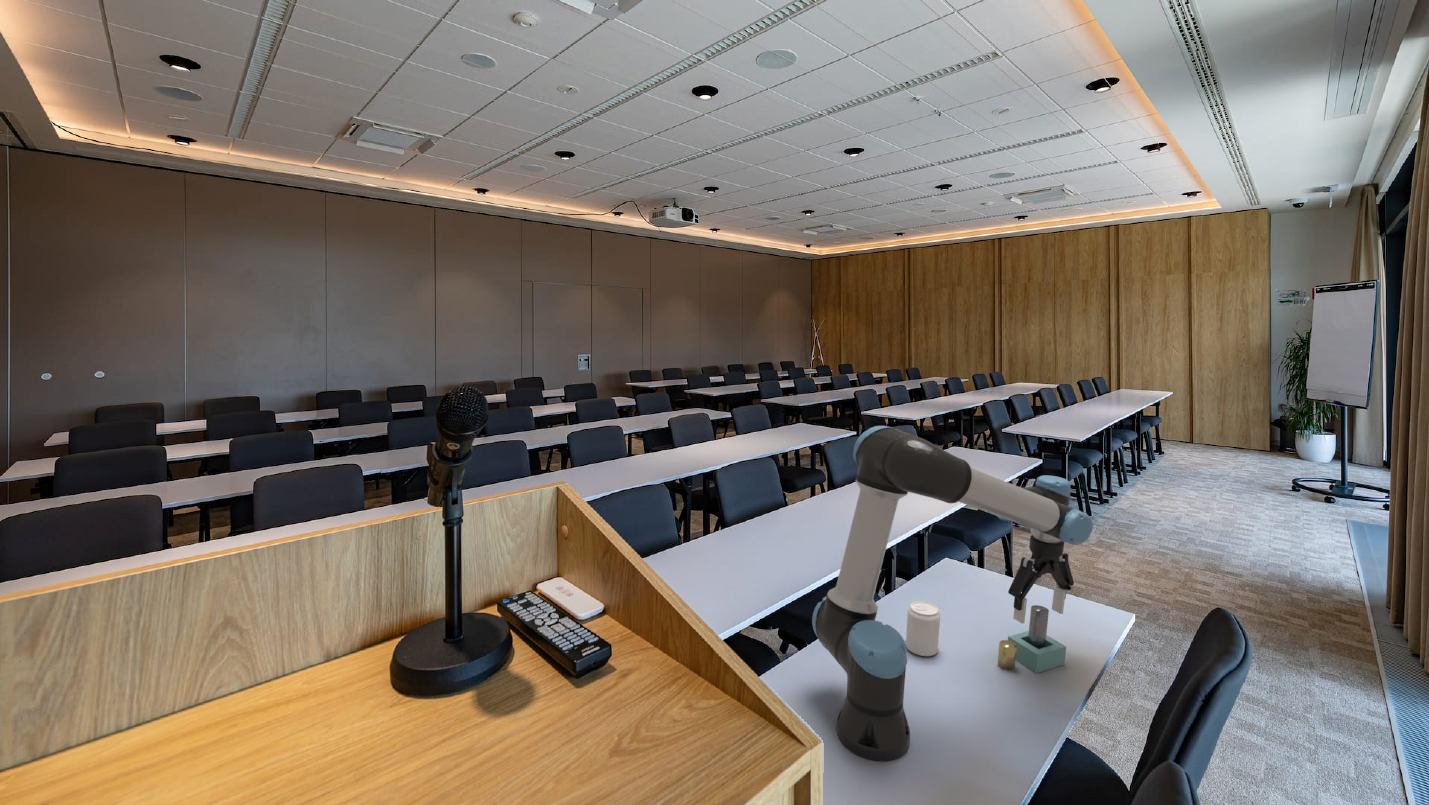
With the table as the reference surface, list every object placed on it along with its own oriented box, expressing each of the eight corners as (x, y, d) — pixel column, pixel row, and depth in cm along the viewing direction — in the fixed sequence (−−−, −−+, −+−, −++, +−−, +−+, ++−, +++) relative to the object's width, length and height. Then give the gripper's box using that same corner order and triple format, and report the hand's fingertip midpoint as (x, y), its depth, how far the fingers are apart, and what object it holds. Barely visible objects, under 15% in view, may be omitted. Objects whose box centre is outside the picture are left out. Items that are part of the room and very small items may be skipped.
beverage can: (939, 660, 157) (942, 617, 155) (907, 656, 159) (910, 613, 157) (935, 643, 165) (937, 601, 163) (904, 639, 167) (906, 598, 165)
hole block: (1035, 673, 152) (1037, 654, 151) (1006, 653, 160) (1008, 636, 159) (1064, 664, 156) (1066, 646, 155) (1034, 646, 164) (1035, 628, 163)
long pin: (1035, 665, 155) (1041, 614, 153) (1022, 656, 159) (1027, 607, 157) (1047, 661, 157) (1052, 611, 154) (1033, 653, 160) (1038, 604, 158)
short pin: (1006, 672, 152) (1008, 650, 151) (993, 663, 156) (995, 642, 155) (1018, 668, 154) (1020, 647, 153) (1005, 660, 157) (1007, 639, 156)
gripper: (1023, 549, 144) (1014, 632, 148) (1095, 536, 154) (1085, 614, 157) (998, 538, 151) (990, 617, 155) (1068, 526, 160) (1059, 601, 164)
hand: (1038, 616), depth 156 cm, fingers open, 13 cm apart
